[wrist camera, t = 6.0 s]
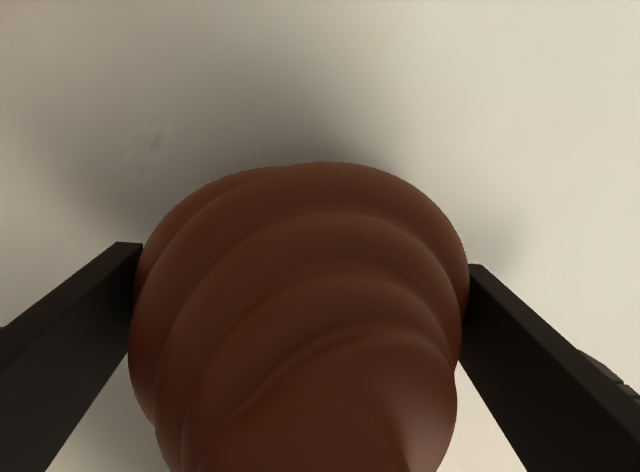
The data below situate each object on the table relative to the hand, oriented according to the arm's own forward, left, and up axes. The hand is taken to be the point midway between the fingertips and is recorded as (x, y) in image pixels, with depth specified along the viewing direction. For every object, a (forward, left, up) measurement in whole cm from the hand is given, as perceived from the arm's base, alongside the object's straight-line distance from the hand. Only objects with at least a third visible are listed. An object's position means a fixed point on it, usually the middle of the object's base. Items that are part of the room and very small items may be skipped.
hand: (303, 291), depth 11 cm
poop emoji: (0, 0, -1) cm, 1 cm away
